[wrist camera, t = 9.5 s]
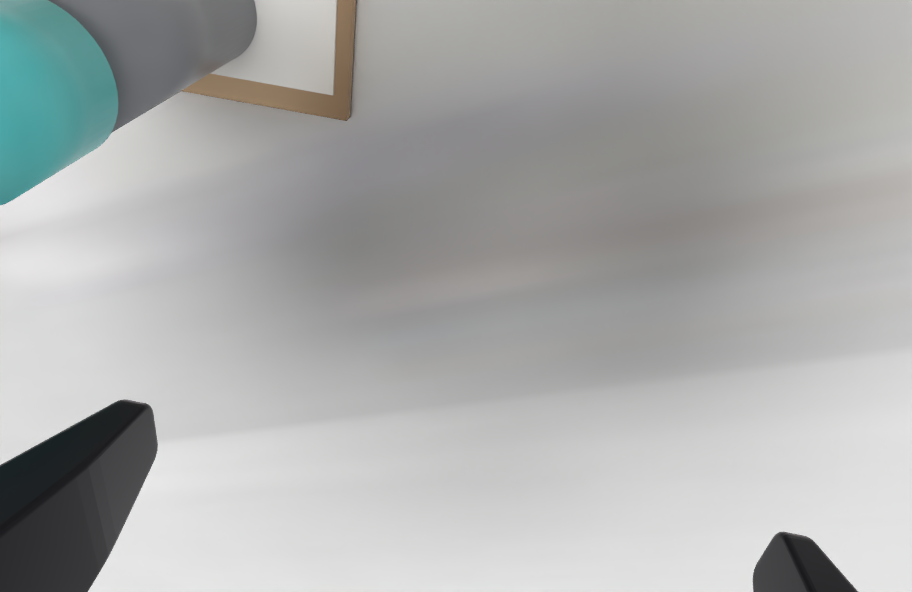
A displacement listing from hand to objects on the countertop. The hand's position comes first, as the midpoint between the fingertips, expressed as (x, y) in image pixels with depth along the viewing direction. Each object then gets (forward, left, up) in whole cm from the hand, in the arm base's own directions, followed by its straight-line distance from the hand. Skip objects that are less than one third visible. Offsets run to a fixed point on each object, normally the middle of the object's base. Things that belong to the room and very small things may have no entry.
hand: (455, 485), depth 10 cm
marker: (+9, -3, -12) cm, 15 cm away
